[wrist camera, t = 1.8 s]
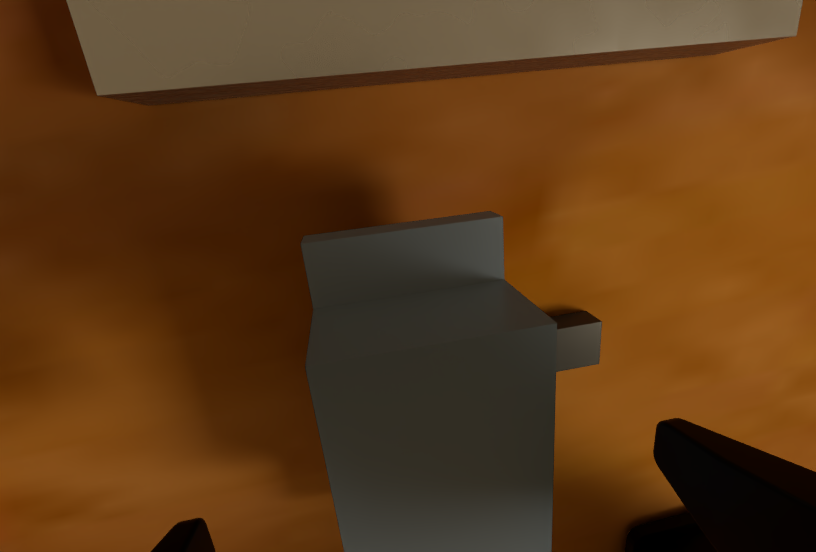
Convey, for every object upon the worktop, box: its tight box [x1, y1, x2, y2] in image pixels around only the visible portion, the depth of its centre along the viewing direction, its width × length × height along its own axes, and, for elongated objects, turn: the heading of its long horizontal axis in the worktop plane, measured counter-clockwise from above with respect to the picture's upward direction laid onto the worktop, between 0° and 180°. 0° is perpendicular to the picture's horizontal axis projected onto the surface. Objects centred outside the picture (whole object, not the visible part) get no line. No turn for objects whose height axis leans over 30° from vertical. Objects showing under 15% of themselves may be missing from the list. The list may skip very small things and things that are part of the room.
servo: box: [301, 211, 602, 552], centre depth 10 cm, size 8×9×5 cm
